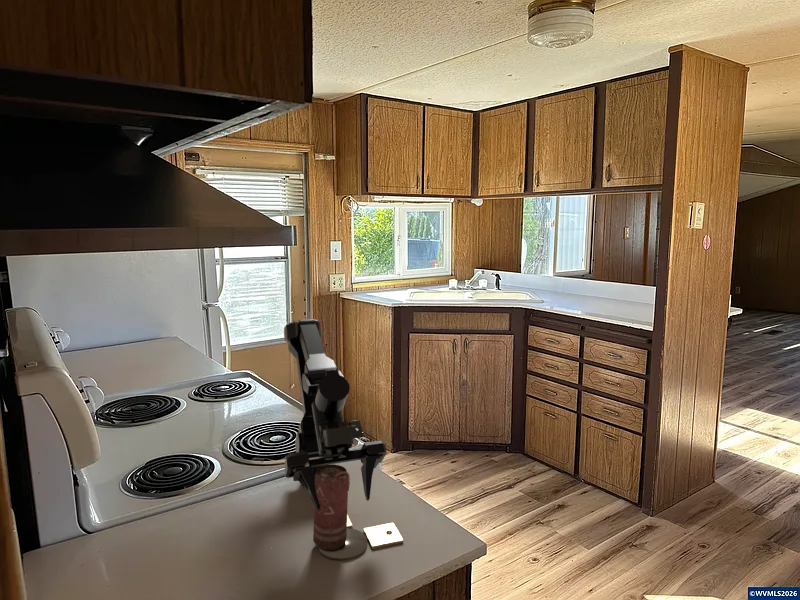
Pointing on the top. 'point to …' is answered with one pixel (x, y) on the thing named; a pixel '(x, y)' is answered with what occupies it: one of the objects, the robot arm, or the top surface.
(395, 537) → the flat squares and disc
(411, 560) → the top surface
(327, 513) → the can
